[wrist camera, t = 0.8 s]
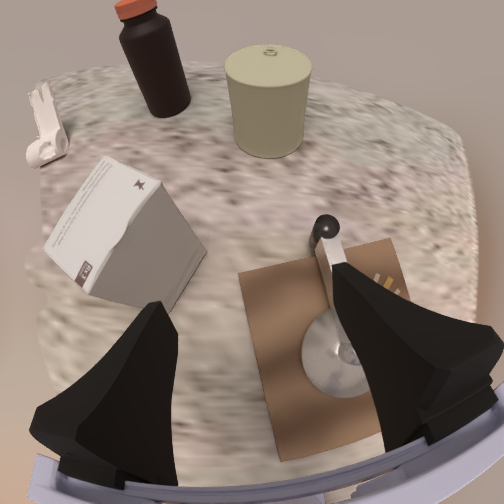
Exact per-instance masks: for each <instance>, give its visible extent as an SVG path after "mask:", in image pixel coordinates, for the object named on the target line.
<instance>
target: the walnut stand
mask: <svg viewBox="0 0 504 504" xmlns="http://www.w3.org/2000/svg"><path fill="white" fill-rule="evenodd" d="M343 250H344V254H345V257H346V260H347V263H349V264H350V265H352V266H353V267H354V268H356V269H357V270H359V271H360V272H362V273H363V274H365V275H366V276H368V277H369V278H371V279H372V280H374V281H375V282H377V283H378V284H380V285H381V286H383V287H385V288H386V289H388V290H390V291H391V292H393V293H395V294H397V295H399V296H400V297H402V298H404V299H406V300H408V301H410V297H409V294H408V290H407V287H406V283H405V280H404V277H403V274H402V270H401V267H400V264H399V261H398V258H397V255H396V252H395V249H394V247H393V244H392V241H391V238H388V239H384V240H380V241H376V242H372V243H367V244H363V245H359V246H355V247H351V248H347V249H343ZM238 275H239V280H240V285H241V290H242V294H243V299H244V304H245V308H246V313H247V318H248V322H249V327H250V332H251V336H252V341H253V345H254V350H255V354H256V359H257V363H258V368H259V372H260V376H261V381H262V385H263V389H264V394H265V398H266V402H267V407H268V411H269V415H270V419H271V424H272V428H273V432H274V436H275V440H276V444H277V448H278V452H279V457H280V461H281V462H284V461H288V460H293V459H297V458H301V457H306V456H309V455H313V454H317V453H321V452H324V451H328V450H331V449H334V448H337V447H341V446H344V445H347V444H350V443H352V442H355V441H358V440H361V439H364V438H366V437H369V436H371V435H374V434H376V433H379V432H381V428H380V423H379V420H378V416H377V412H376V408H375V405H374V401H373V398H372V394H371V391H370V390H369V391H368V392H366V393H364V394H361V395H359V396H355V397H350V398H338V397H333V396H330V395H328V394H325V393H324V392H322V391H320V390H319V389H318V388H317V387H316V386H314V385H313V384H312V383H311V381H310V380H309V379H308V377H307V376H306V374H305V372H304V370H303V366H302V362H301V345H302V341H303V338H304V335H305V333H306V331H307V329H308V327H309V326H310V324H311V323H312V322H313V321H314V320H315V319H316V318H317V317H318V316H319V315H320V314H322V313H323V312H325V311H326V310H328V309H330V304H329V300H328V296H327V292H326V289H325V285H324V281H323V278H322V274H321V271H320V267H319V264H318V260H317V257H316V256H313V257H308V258H304V259H300V260H295V261H291V262H287V263H282V264H278V265H273V266H269V267H264V268H260V269H255V270H251V271H246V272H242V273H238ZM410 302H411V301H410Z"/></svg>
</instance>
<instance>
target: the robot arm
mask: <svg viewBox="0 0 504 504" xmlns="http://www.w3.org/2000/svg"><path fill="white" fill-rule="evenodd" d="M332 285H333V304H334V307H335V310H336V313H337V315H338V318H339V321H340V323H341V325H342V327H343V329H344V331H345V333H346V335H347V337H348V339H349V341H350V343H351V345H352V347H353V349H354V351H355V353H356V355H357V357H358V359H359V361H360V363H361V366H362V368H363V370H364V373H365V376H366V379H367V382H368V385H369V388H370V391H371V394H372V398H373V401H374V405H375V408H376V412H377V416H378V420H379V423H380V428H381V432H382V437H383V442H384V447H385V454H382V455H379V456H377V457H374V458H371V459H368V460H365V461H362V462H359V463H356V464H353V465H350V466H346V467H343V468H339V469H336V470H332V471H328V472H324V473H320V474H316V475H311V476H306V477H301V478H296V479H291V480H285V481H278V482H271V483H264V484H255V485H244V486H228V487H180V486H178V480H177V475H176V469H175V463H174V455H173V445H172V430H171V401H172V392H173V385H174V378H175V371H176V364H177V357H178V333H177V331H176V329H175V327H174V325H173V323H172V321H171V319H170V317H169V315H168V314H167V312H166V310H165V308H164V306H163V304H162V302H161V301H156V302H150V303H148V304H147V305H146V306H145V307H144V308H143V310H142V311H141V312H140V313H139V314H138V316H137V317H136V318H135V319H134V321H133V322H132V323H131V324H130V326H129V327H128V328H127V330H126V331H125V332H124V333H123V335H122V336H121V337H120V338H119V339H118V340H117V342H116V343H115V344H114V345H113V346H112V348H111V349H110V350H109V351H108V352H107V353H106V354H105V355H104V357H103V358H102V359H101V360H100V361H99V362H98V363H97V364H96V365H95V366H94V367H93V368H92V369H90V370H89V371H88V372H87V373H86V374H85V375H84V376H82V377H81V378H80V379H79V380H78V381H77V382H75V383H74V384H73V385H71V386H70V387H69V388H67V389H66V390H65V391H63V392H62V393H60V394H59V395H57V396H56V397H54V398H52V399H51V400H49V401H47V402H45V403H44V404H42V405H40V406H38V407H37V409H36V411H35V414H34V417H33V420H32V423H31V426H30V429H29V431H30V433H31V435H32V436H33V437H34V438H35V439H36V440H37V441H39V442H40V443H42V444H43V445H44V446H46V447H47V448H49V449H50V450H52V451H53V452H55V453H56V454H58V455H60V456H61V458H60V462H59V461H57V460H55V459H53V458H50V457H47V456H44V455H41V454H37V455H36V459H35V463H34V467H33V472H32V476H31V481H30V486H29V492H28V498H29V499H30V500H32V501H34V502H36V503H37V504H162V503H166V504H325V500H324V495H323V493H326V492H330V491H334V490H337V489H341V488H345V487H348V486H351V485H355V484H358V483H361V482H364V481H367V480H370V479H373V478H376V477H378V476H380V477H378V478H376V479H373V480H371V481H369V482H366V483H364V484H361V485H359V486H358V487H357V488H356V490H357V491H355V492H353V493H352V494H351V498H352V499H348V500H344V501H340V502H336V503H332V504H437V503H439V502H441V501H443V500H444V499H446V498H447V497H449V496H450V495H452V494H454V493H455V492H456V491H458V490H460V489H461V488H463V487H464V486H465V485H467V484H468V483H469V482H471V481H473V480H474V479H475V478H476V477H478V476H479V475H481V474H482V473H483V472H484V471H486V470H487V469H488V468H489V467H491V466H492V465H493V464H494V463H495V462H497V461H498V460H499V459H500V458H501V457H502V456H503V455H504V381H503V382H502V383H501V384H499V385H498V386H497V387H496V388H495V389H494V390H493V389H492V388H491V386H490V385H491V384H492V382H493V380H492V378H491V377H490V375H489V374H490V372H491V371H492V369H493V368H494V366H495V365H496V363H497V361H498V360H499V358H500V356H501V354H502V352H503V349H504V342H503V341H502V340H501V339H500V337H499V336H498V335H497V333H496V332H495V331H494V329H493V328H492V327H491V326H487V325H481V324H476V323H470V322H466V321H462V320H458V319H454V318H451V317H448V316H444V315H441V314H439V313H436V312H433V311H431V310H428V309H426V308H423V307H421V306H419V305H417V304H414V303H412V302H410V301H408V300H406V299H404V298H402V297H400V296H399V295H397V294H395V293H393V292H391V291H390V290H388V289H386V288H385V287H383V286H381V285H380V284H378V283H377V282H375V281H374V280H372V279H371V278H369V277H368V276H366V275H365V274H363V273H362V272H360V271H359V270H357V269H356V268H354V267H353V266H352V265H350V264H349V263H347V262H341V263H337V264H333V265H332ZM386 473H387V474H386ZM381 475H382V476H381Z"/></svg>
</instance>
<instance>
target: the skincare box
mask: <svg viewBox="0 0 504 504" xmlns="http://www.w3.org/2000/svg"><path fill="white" fill-rule="evenodd" d="M43 250H44V251H45V252H46V253H47V254H48V255H49V256H50V257H51V258H52V259H53V260H54V261H55V262H56V263H57V264H58V265H59V266H60V267H61V268H62V269H63V271H64V272H65V273H66V274H67V275H68V276H69V277H70V278H71V279H72V280H73V281H74V282H75V283H76V284H77V285H78V286H79V287H80V288H81V289H82V290H83V291H84V292H85V293H86V294H88V295H91V296H95V297H99V298H103V299H106V300H110V301H114V302H118V303H123V304H126V305H131V306H135V307H139V308H144V307H145V306H146V305H147V304H148V303H150V302H156V301H161V302H162V304H163V306H164V308H165V310H166V312H167V314H168V313H169V312H170V310H171V309H172V307H173V306H174V304H175V302H176V301H177V299H178V297H179V296H180V294H181V293H182V291H183V289H184V288H185V286H186V284H187V283H188V281H189V280H190V278H191V276H192V275H193V273H194V272H195V270H196V268H197V266H198V264H199V263H200V261H201V260H202V258H203V257H204V255H205V254H206V252H207V251H206V249H205V248H204V246H203V245H202V244H201V242H200V241H199V239H198V238H197V236H196V235H195V234H194V232H193V231H192V229H191V228H190V226H189V225H188V223H187V222H186V220H185V219H184V217H183V215H182V214H181V212H180V211H179V209H178V208H177V206H176V205H175V203H174V202H173V200H172V199H171V197H170V196H169V194H168V193H167V191H166V189H165V188H164V186H163V184H162V182H161V181H160V180H158V179H156V178H154V177H152V176H150V175H148V174H146V173H144V172H141V171H139V170H137V169H135V168H132V167H130V166H128V165H126V164H124V163H121V162H119V161H117V160H114V159H112V158H110V157H108V156H106V155H105V156H103V158H102V159H101V160H100V162H99V163H98V164H97V165H96V167H95V168H94V169H93V171H92V172H91V174H90V175H89V176H88V178H87V179H86V181H85V182H84V183H83V185H82V186H81V188H80V189H79V191H78V192H77V194H76V195H75V197H74V198H73V200H72V201H71V203H70V204H69V206H68V207H67V209H66V210H65V212H64V213H63V215H62V217H61V218H60V220H59V222H58V223H57V225H56V227H55V228H54V230H53V232H52V233H51V235H50V237H49V239H48V240H47V242H46V244H45V246H44V247H43Z"/></svg>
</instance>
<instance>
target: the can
mask: <svg viewBox="0 0 504 504" xmlns="http://www.w3.org/2000/svg"><path fill="white" fill-rule="evenodd" d="M224 70H225V73H226V78H227V84H228V90H229V96H230V102H231V109H232V116H233V123H234V138H235V141H236V143H237V144H238V146H239V147H240V148H241V149H242V150H243V151H245V152H246V153H248V154H250V155H253V156H256V157H260V158H279V157H283V156H286V155H288V154H290V153H292V152H294V151H295V150H296V149H297V148H298V147H299V146H300V144H301V143H302V140H303V136H304V132H303V127H304V118H305V111H306V104H307V96H308V89H309V82H310V75H311V72H312V64H311V62H310V60H309V59H308V58H307V57H306V56H305V55H304V54H302V53H301V52H299V51H297V50H294V49H292V48H288V47H285V46H279V45H256V46H251V47H246V48H243V49H241V50H238V51H236V52H235V53H233V54H232V55H230V56H229V57H228V58H227V60H226V61H225V64H224Z"/></svg>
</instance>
